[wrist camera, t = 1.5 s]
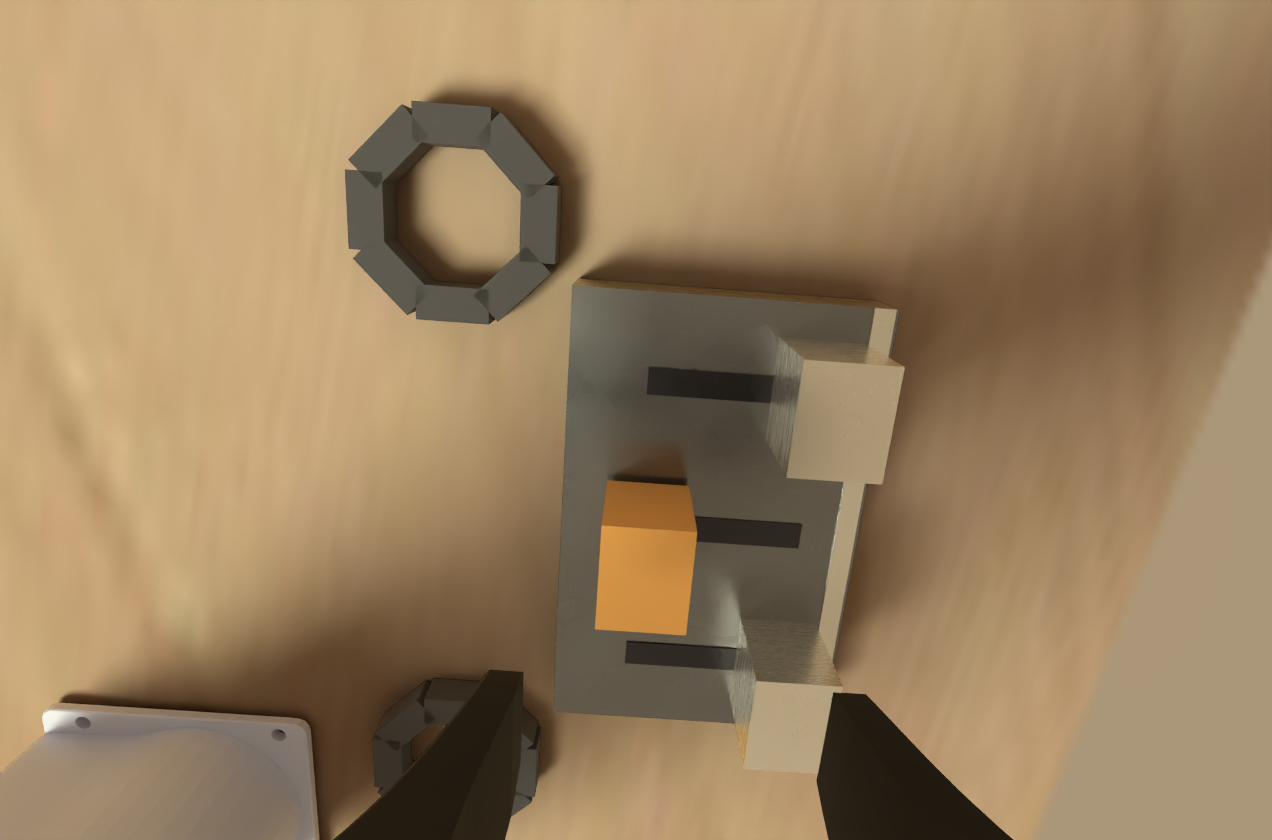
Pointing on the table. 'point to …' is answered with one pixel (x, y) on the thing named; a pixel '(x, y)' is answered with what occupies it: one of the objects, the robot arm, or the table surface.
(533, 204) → the coil
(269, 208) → the table surface
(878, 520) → the table surface
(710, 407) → the breaker strip
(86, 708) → the robot arm
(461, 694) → the coil
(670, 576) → the orange breaker switch
